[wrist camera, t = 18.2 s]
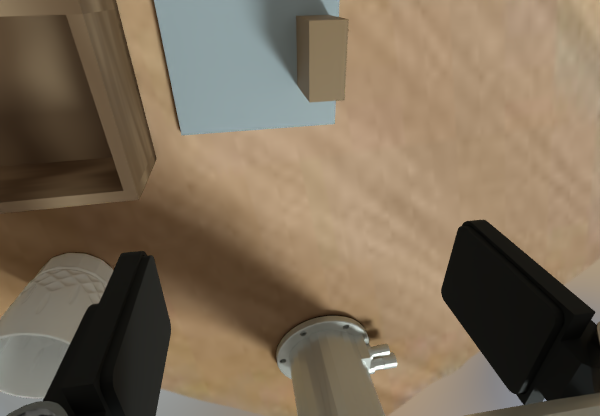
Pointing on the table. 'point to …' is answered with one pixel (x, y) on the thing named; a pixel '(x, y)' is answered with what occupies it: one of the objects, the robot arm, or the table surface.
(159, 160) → the table surface
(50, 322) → the white cup
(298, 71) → the lid
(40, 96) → the toolbox
